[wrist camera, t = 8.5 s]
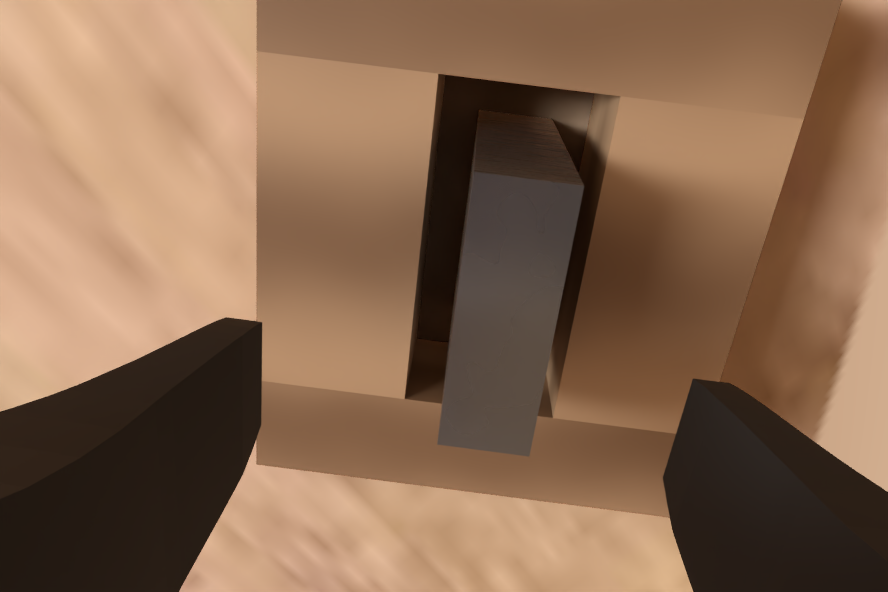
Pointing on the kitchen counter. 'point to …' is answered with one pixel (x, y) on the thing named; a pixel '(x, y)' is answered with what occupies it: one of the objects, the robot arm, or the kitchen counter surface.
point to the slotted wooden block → (594, 245)
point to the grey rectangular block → (508, 282)
